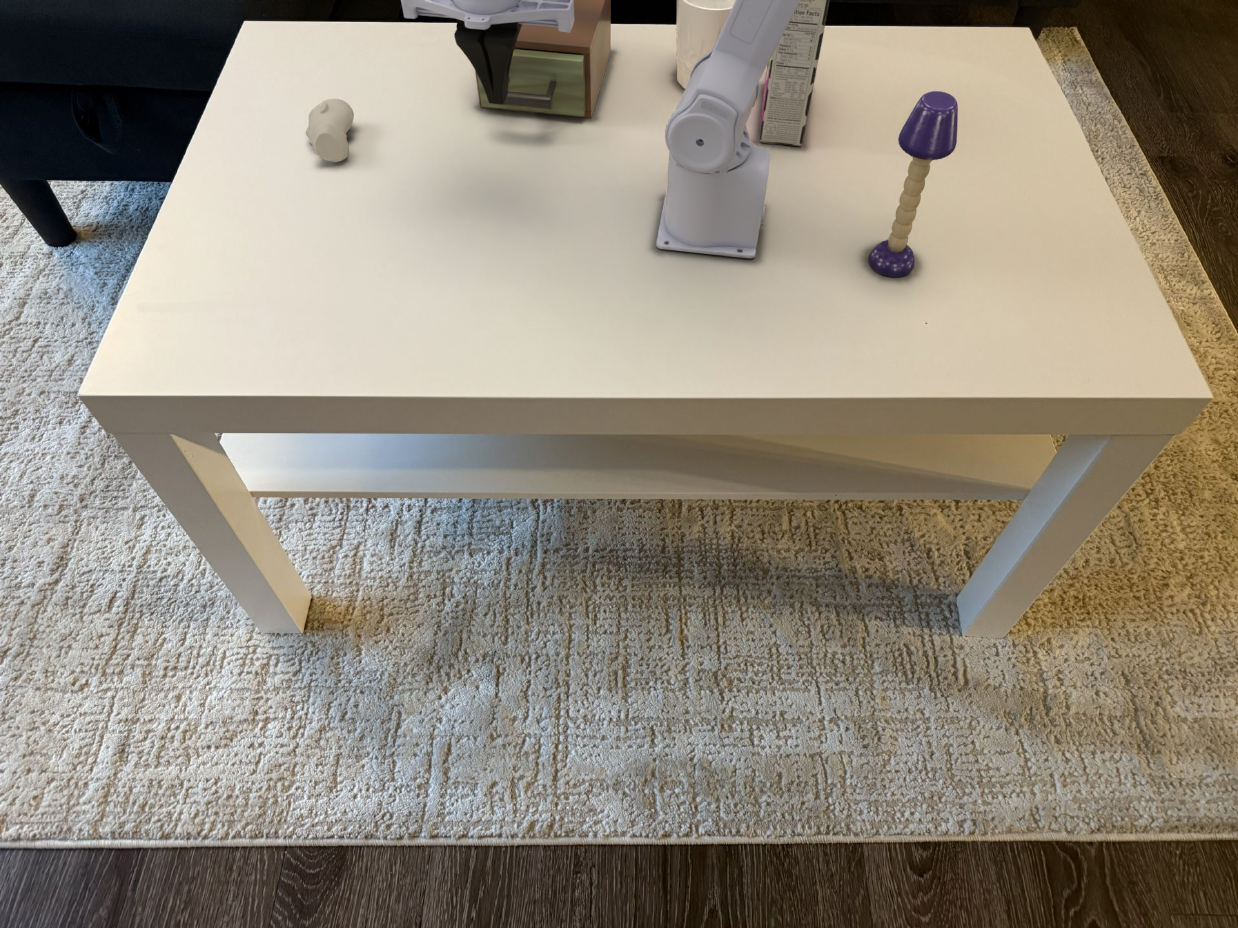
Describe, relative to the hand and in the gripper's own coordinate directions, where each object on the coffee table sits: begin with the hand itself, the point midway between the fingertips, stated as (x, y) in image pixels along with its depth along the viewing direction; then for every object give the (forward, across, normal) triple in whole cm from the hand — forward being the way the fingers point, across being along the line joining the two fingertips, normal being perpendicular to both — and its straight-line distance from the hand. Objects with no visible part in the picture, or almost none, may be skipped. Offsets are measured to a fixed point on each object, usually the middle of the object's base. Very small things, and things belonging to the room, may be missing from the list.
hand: (498, 98), depth 80 cm
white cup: (+10, +18, +23) cm, 31 cm away
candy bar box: (+10, +27, +17) cm, 33 cm away
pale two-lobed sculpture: (+10, -20, +4) cm, 23 cm away
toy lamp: (+10, +38, -5) cm, 40 cm away
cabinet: (+10, 0, +20) cm, 22 cm away
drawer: (+9, 0, +16) cm, 18 cm away
